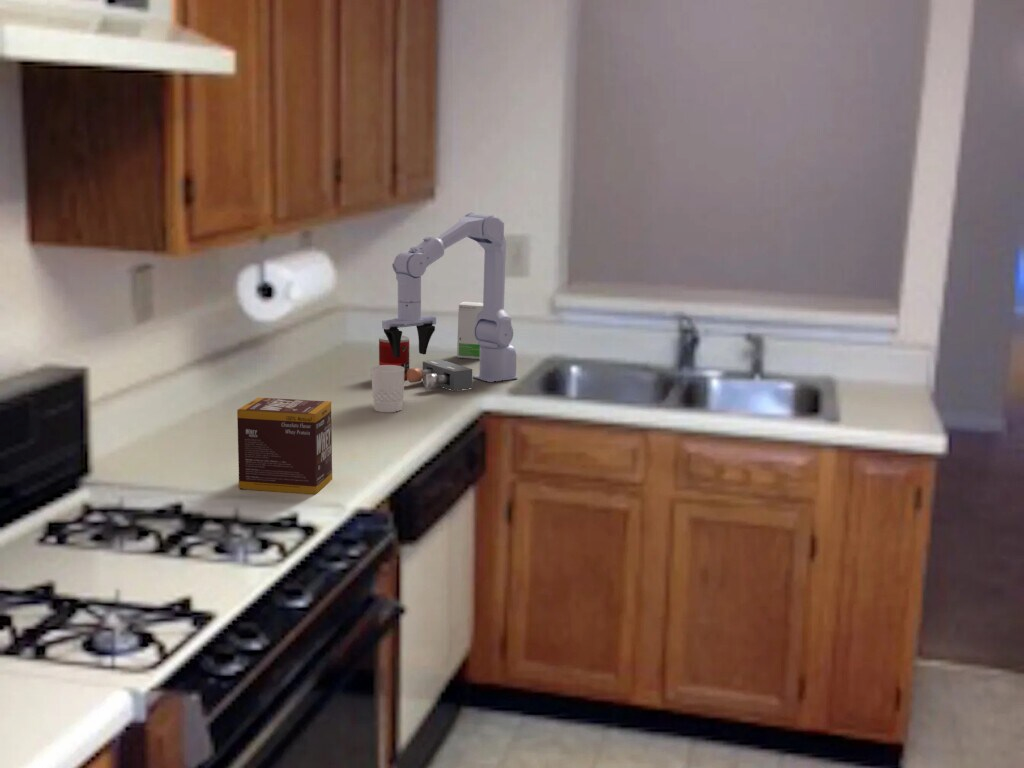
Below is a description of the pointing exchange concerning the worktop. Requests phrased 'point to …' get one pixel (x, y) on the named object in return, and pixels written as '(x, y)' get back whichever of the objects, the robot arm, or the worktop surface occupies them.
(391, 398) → the white cup
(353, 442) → the worktop surface
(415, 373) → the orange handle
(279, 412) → the supplement box
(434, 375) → the knob aluminium
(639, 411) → the worktop surface
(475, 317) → the skincare box
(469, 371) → the mount
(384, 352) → the canned food
